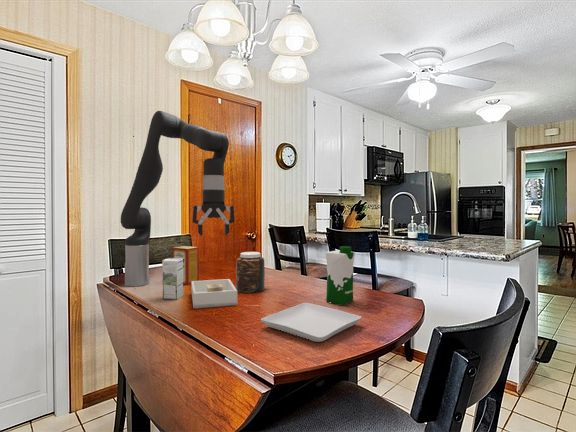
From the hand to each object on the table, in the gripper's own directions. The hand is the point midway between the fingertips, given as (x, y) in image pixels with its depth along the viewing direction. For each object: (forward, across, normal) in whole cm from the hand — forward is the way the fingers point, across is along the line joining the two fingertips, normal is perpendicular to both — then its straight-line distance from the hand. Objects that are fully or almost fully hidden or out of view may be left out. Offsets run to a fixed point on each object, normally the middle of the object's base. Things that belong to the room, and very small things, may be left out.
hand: (213, 235), depth 121 cm
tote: (+24, 0, -5) cm, 24 cm away
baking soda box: (+24, +9, -36) cm, 44 cm away
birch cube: (+23, 0, 0) cm, 23 cm away
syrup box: (+24, +14, -11) cm, 30 cm away
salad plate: (+24, -24, +33) cm, 48 cm away
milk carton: (+24, -43, +12) cm, 51 cm away
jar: (+24, -16, -15) cm, 33 cm away
